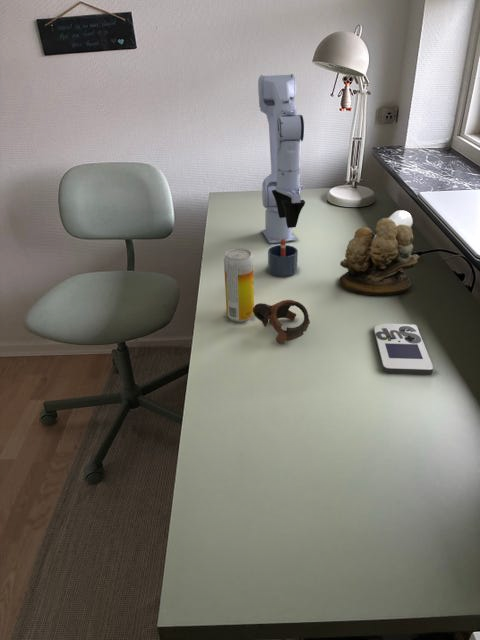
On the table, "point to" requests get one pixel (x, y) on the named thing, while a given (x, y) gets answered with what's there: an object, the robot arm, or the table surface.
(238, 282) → the beer can
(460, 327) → the table surface
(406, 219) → the white rounded cylinder
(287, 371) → the table surface
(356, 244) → the owl figurine
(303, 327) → the brown knobby curled ring
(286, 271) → the cup
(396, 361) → the handheld game console
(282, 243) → the baton
